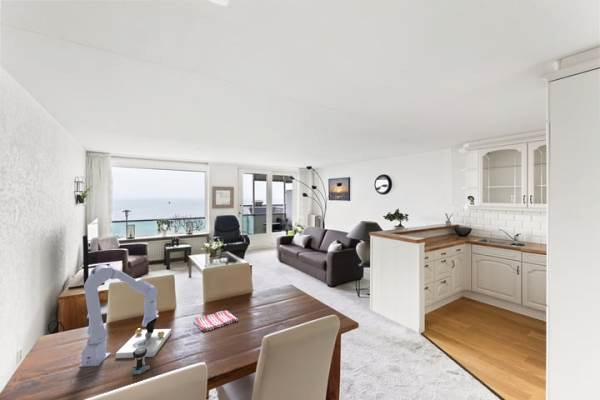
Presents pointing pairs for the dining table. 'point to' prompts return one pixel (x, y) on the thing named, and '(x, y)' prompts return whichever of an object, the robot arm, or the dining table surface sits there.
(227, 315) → the dish towel
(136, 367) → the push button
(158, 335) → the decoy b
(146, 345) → the plate
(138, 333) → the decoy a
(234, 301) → the dining table surface
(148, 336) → the ball
